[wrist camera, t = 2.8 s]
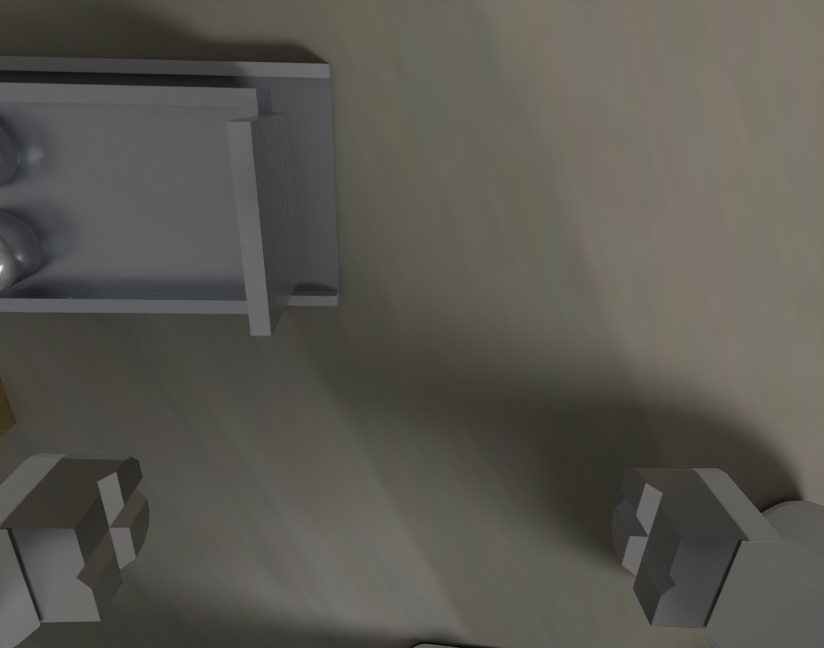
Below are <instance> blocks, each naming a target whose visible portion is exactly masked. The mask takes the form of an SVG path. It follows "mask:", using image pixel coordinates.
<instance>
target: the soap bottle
mask: <svg viewBox="0 0 824 648" xmlns="http://www.w3.org/2000/svg"><path fill="white" fill-rule="evenodd" d="M761 514H762V515H763V516H764V518H765V519H766V520H767V521H768V522H769V523H770V525H771V526H772V527H773V528H774V529H775V530H776V532H777V533H778V534H779V535H780V536H781V537H782V538H783V540H784V541H785V542H796V543H798V544H799V545H801V546H803V547H805V548H806V549H808V550H810V551H812V552H813V553H815V554H817V555H819V556H820V557H822V558H824V506H823V505H819V504H816V503H812V502H809V501H786V502H783V503H779V504H777V505H775V506H773V507H771V508H769V509H767V510H766V511H764V512H763V513H761ZM708 636H709V635H708ZM709 639H710V642H711V645H712V648H722V647H721V646H720V645H719V644H718V643H717V642H716V641H715V640H714V639H713V638H712V637H711V636H709Z"/></svg>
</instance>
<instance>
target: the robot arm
mask: <svg viewBox="0 0 824 648" xmlns="http://www.w3.org/2000/svg"><path fill="white" fill-rule="evenodd" d="M142 477H143V476H142V472H141V468H140V464H139V461H138V460H137V459H135V458H133V457H127V456H104V455H82V454H70V455H67V454H47V453H39V454H36V455H33V456H30V457H28V458H27V459H26V460H25V461H24V462H23V463H22V464H21V465H20V466H19V467H18V468H17V469H16V470H15V471H14V472H13V473H12V474H11V475H10V476H9V477H8V478H7V479H6V480H5V481H4V482H3V483H2V484H1V485H0V648H14V647H15V646H17V645H18V644H19V643H20V642H22V641H23V640H24V639H25V638H26V637H28V636H29V635H30V634H31V633H32V632H34V631H35V630H36V629H37V628H39V627H40V625H41V624H40V622H88V621H101V620H102V618H103V616H104V614H105V613H106V611H107V609H108V607H109V605H110V604H111V602H112V600H113V598H114V597H115V595H116V593H117V591H118V589H119V588H120V586H121V584H122V578H121V574H120V569H121V568H123V567H124V566H125V565H127V564H128V563H130V562H131V561H133V560H134V559H135V558H136V557H137V555H138V553H139V551H140V549H141V548H142V546H143V544H144V541H145V537H146V533H147V530H148V526H149V506H148V501H147V498H146V497H145V496H144V495H143V494H142V493H141V492H140V491H139V490H138V489H136V487H137V485H138V483H139V482H140V480H141V479H142ZM621 488H622V490H623V492H624V494H625V496H626V498H625V499H624V500H623V501H622V502H621V503H619V504H618V505H617V506H616V507H615V510H614V515H613V519H612V538H613V543H614V547H615V550H616V553H617V555H618V558H619V560H620V562H621V564H622V566H624V567H625V568H626V569H628V570H629V571H630V572H631V573H633V574H634V575H635V576H636V580H635V583H634V586H633V590H634V592H635V594H636V596H637V598H638V600H639V602H640V605H641V607H642V609H643V611H644V613H645V615H646V617H647V619H648V621H649V623H650V625H651V626H658V627H683V628H706V629H705V632H706V633H707V634H708V635H709V636H711V637H712V638H713V639H714V640H715V641H716V642H717V643H718V644H719V645H720V646H721V647H722V648H824V558H822V557H820V556H819V555H817V554H815V553H813V552H812V551H810V550H808V549H806V548H805V547H803V546H801V545H799V544H798V543H796V542H785V541H784V540H783V538H782V537H781V536H780V535H779V534H778V533H777V532H776V530H775V529H774V528H773V527H772V526H771V525H770V523H769V522H768V521H767V520H766V519H765V518H764V516H763V515H762V514H761V513H760V512H759V511H758V509H757V508H756V507H755V506H754V505H753V504H752V502H751V501H750V500H749V499H748V498H747V497H746V495H745V494H744V493H743V492H742V491H741V490H740V488H739V487H738V486H737V485H736V484H735V483H734V482H733V480H732V479H731V478H730V477H729V476H728V475H727V473H725V472H724V471H722V470H720V469H718V468H688V469H656V468H629V469H628V470H627V472H626V473H625V474H624V477H623V480H622V484H621ZM414 648H458V647H450V646H441V645H433V644H421V645H418V646H415V647H414Z"/></svg>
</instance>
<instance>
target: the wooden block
mask: <svg viewBox="0 0 824 648" xmlns="http://www.w3.org/2000/svg"><path fill="white" fill-rule="evenodd" d="M15 423H16V421H15V418H14V415H13V412H12V409H11V406H10V403H9V400H8V397H7V395H6V392H5V389H4V386H3V383H2V380H1V377H0V437H1V436H2V435H3V434H4V433H5V432H6V431H7V430H9V429H10V428H11V427H12V426H13V425H14V424H15Z"/></svg>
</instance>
